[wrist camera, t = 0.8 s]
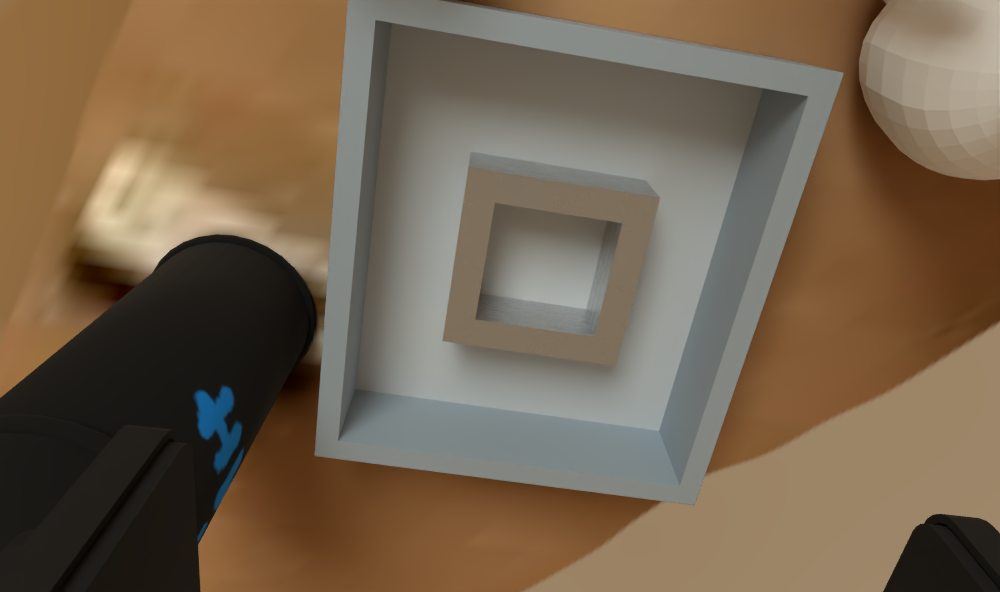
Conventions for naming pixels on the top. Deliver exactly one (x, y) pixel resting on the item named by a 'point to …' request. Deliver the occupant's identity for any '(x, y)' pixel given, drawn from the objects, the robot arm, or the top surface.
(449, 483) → the top surface
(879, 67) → the cat figurine
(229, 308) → the aerosol can
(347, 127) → the walled box
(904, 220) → the top surface
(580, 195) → the inlet
